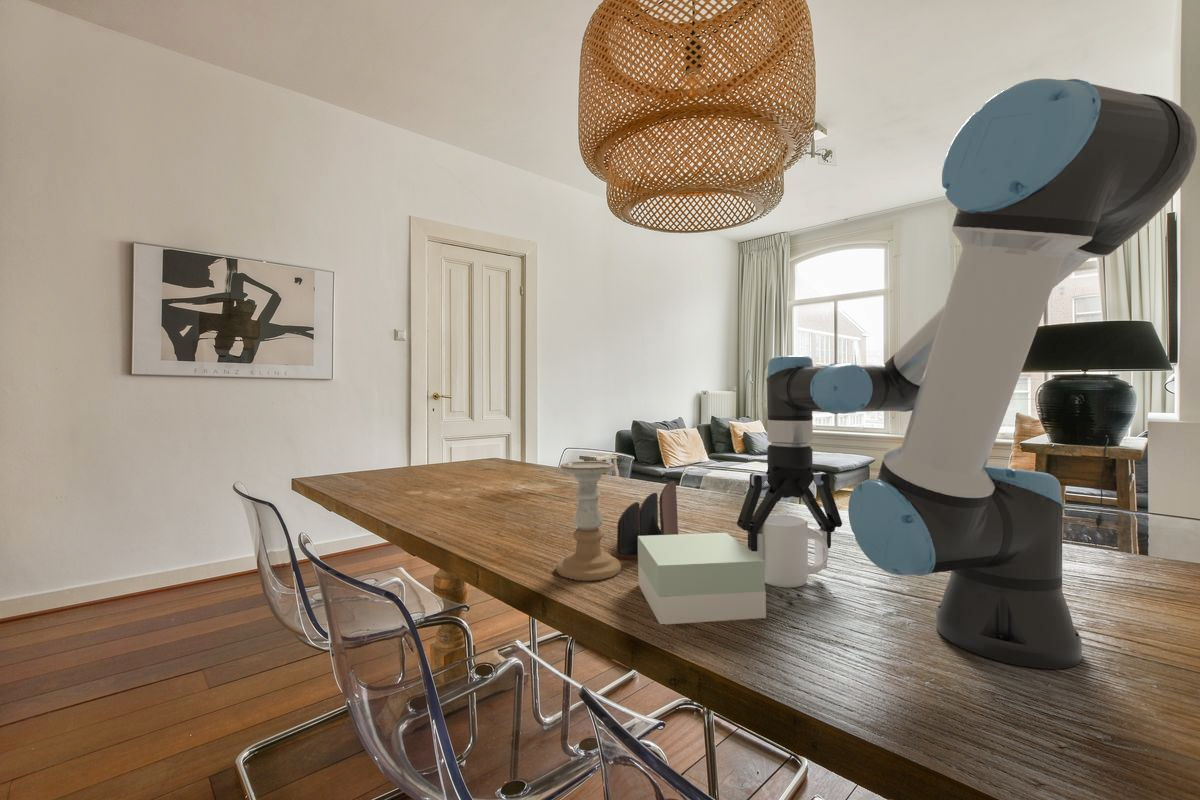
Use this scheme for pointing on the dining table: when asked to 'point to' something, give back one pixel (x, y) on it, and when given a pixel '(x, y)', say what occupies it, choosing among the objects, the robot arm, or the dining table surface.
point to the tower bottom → (702, 605)
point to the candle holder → (588, 527)
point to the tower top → (699, 564)
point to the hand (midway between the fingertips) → (789, 567)
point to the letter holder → (647, 521)
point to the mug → (788, 550)
